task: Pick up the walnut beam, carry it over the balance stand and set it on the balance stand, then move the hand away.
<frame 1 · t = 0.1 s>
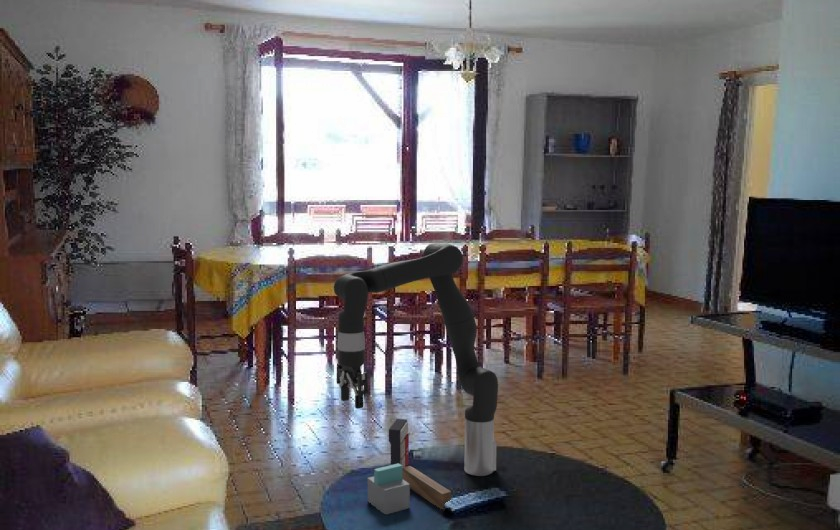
hand: (351, 404, 201), 29 cm above the table, tool pointing down, fingers open, 8 cm apart
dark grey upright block: (399, 470, 229), on the table
balance stand: (388, 504, 204), on the table
walnut beam: (425, 495, 211), on the table
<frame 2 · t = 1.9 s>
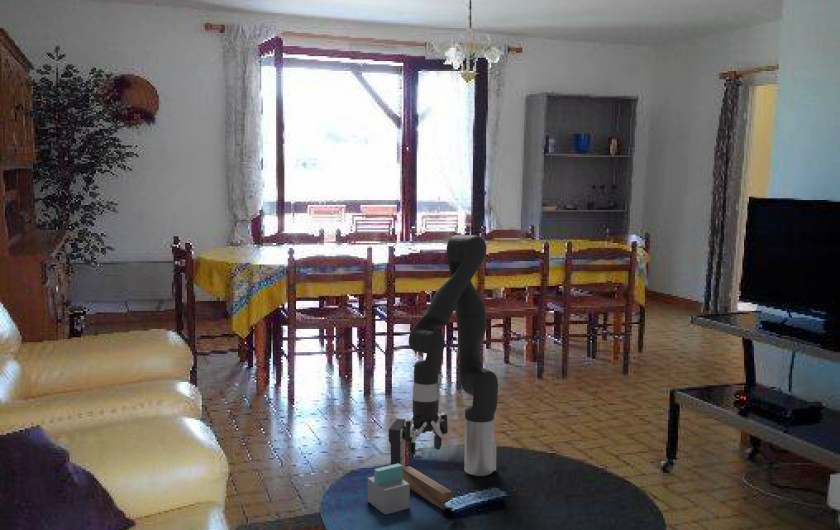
hand: (424, 451, 209), 13 cm above the table, tool pointing down, fingers open, 8 cm apart
nothing on the table moved.
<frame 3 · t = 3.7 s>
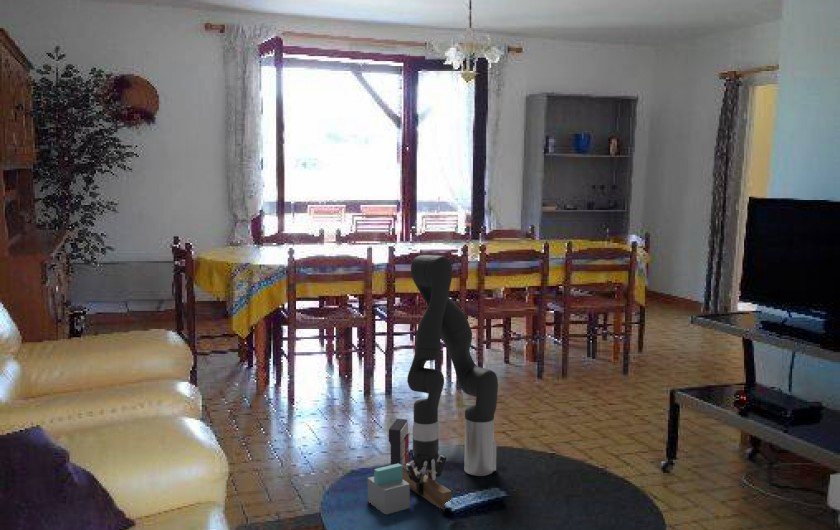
hand: (425, 492, 211), 1 cm above the table, tool pointing down, fingers closed on walnut beam, 3 cm apart
walnut beam: (425, 495, 211), on the table, touching gripper
everything else where it was.
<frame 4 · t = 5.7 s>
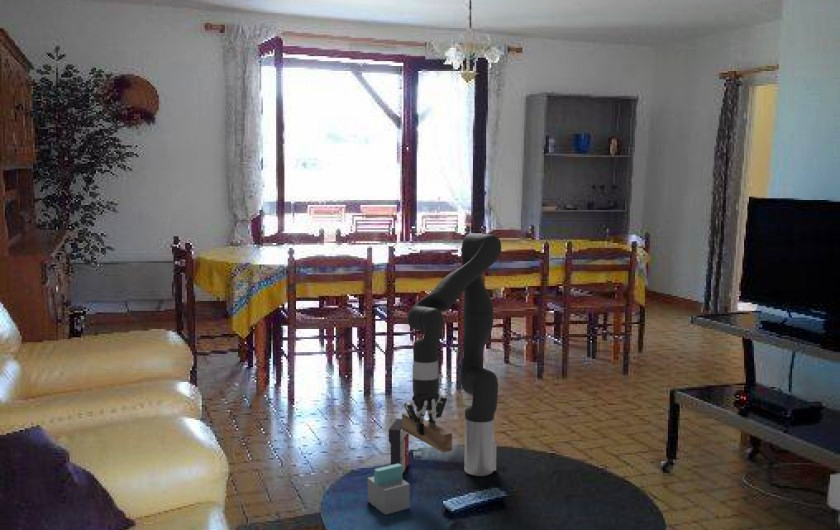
hand: (425, 433, 209), 19 cm above the table, tool pointing down, fingers closed on walnut beam, 3 cm apart
walnut beam: (426, 439, 209), point 17 cm above the table, touching gripper
everything else where it was.
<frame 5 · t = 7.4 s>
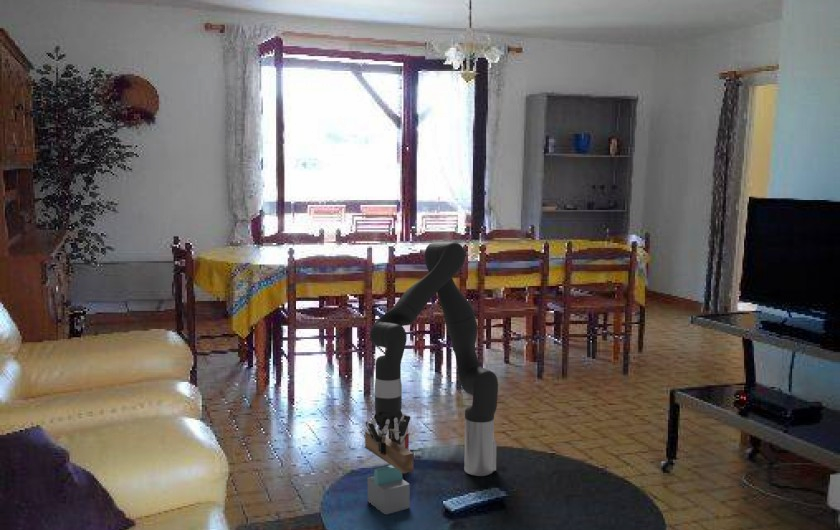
hand: (388, 452, 203), 15 cm above the table, tool pointing down, fingers closed on walnut beam, 3 cm apart
walnut beam: (388, 459, 203), point 13 cm above the table, touching gripper
everything else where it was.
when the fingers open (13 cm above the table, at t = 8.1 s): walnut beam stays where it is, resting on balance stand.
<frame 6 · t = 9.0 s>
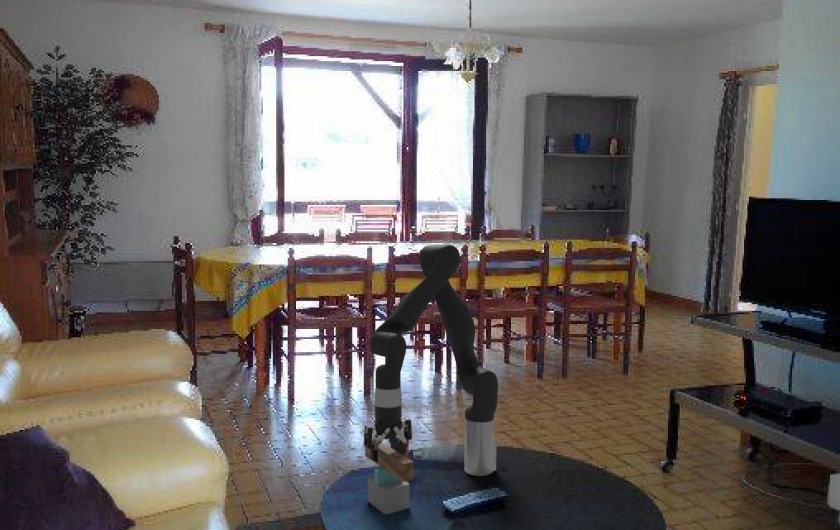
hand: (388, 458, 203), 14 cm above the table, tool pointing down, fingers open, 8 cm apart
walnut beam: (388, 467, 203), point 11 cm above the table, touching balance stand
everything else where it was.
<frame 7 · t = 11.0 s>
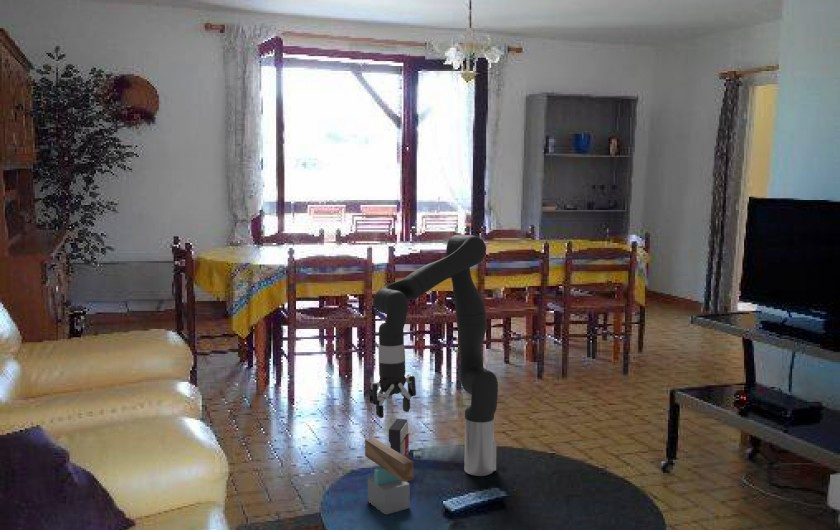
hand: (393, 414, 207), 25 cm above the table, tool pointing down, fingers open, 8 cm apart
nothing on the table moved.
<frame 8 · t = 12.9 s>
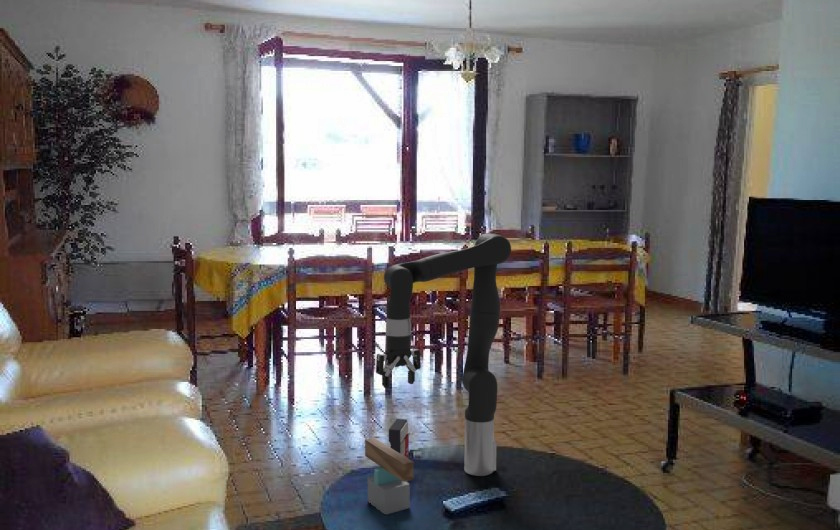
hand: (398, 385, 217), 30 cm above the table, tool pointing down, fingers open, 8 cm apart
nothing on the table moved.
at the end: walnut beam 0.0 cm off-centre on the balance stand, point 11.0 cm above the balance stand's base; walnut beam tilted 0°; the gripper is holding nothing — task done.
